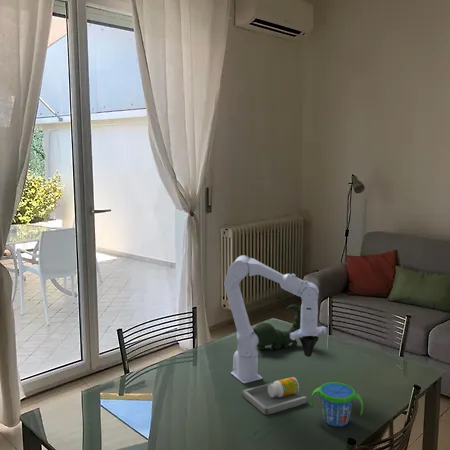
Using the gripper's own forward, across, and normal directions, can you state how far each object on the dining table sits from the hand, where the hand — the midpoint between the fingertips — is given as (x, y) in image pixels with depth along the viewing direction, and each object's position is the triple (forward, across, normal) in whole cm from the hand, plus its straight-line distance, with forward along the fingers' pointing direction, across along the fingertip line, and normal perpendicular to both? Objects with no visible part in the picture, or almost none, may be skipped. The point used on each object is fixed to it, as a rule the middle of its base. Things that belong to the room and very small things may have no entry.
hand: (307, 355), depth 176 cm
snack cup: (+11, -8, -24) cm, 27 cm away
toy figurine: (+11, +9, +32) cm, 35 cm away
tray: (+10, -17, -4) cm, 20 cm away
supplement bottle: (+7, -8, -4) cm, 11 cm away
